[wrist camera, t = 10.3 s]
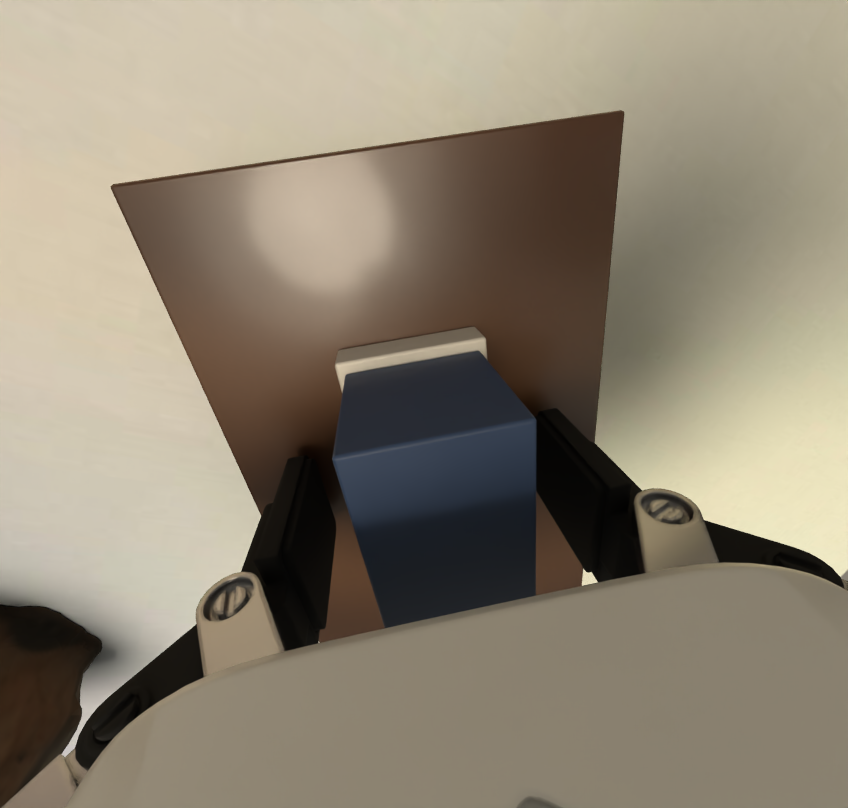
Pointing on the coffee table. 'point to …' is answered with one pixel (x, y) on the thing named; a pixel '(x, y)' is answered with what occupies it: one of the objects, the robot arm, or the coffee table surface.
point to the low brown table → (387, 291)
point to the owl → (38, 690)
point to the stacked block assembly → (437, 475)
